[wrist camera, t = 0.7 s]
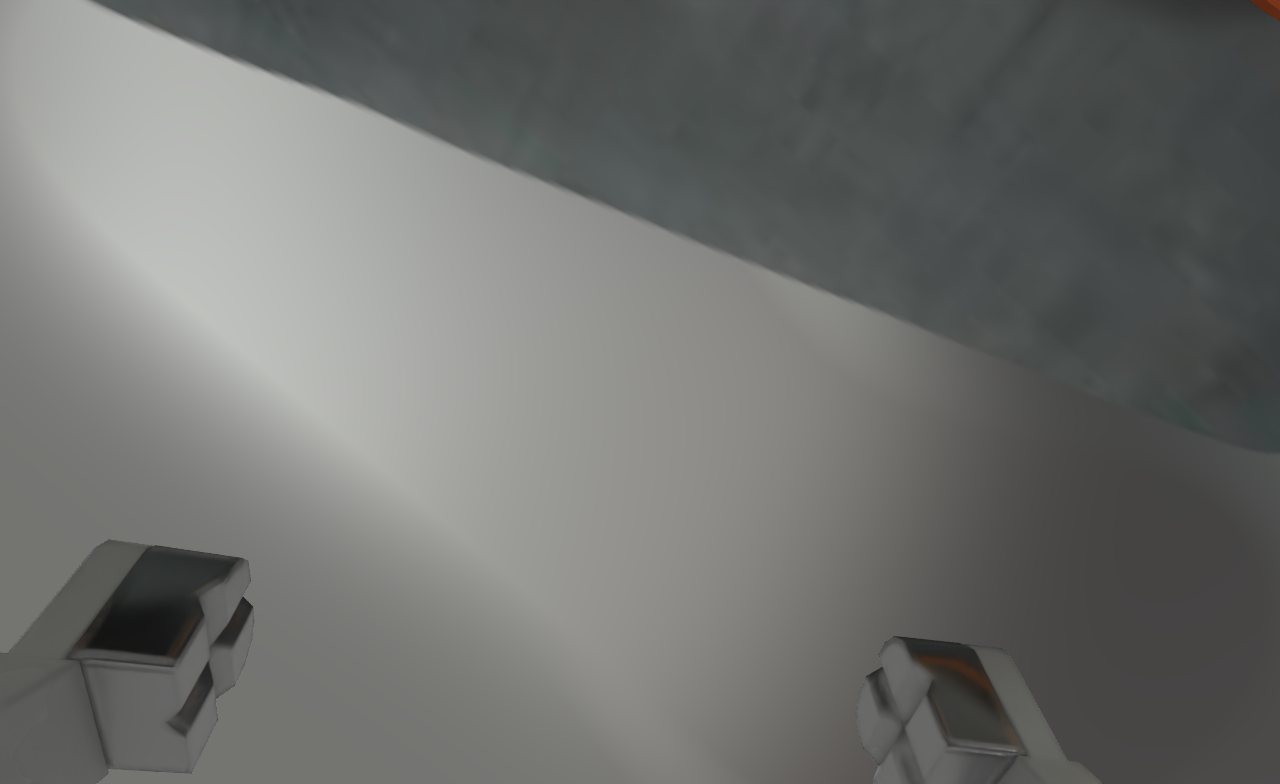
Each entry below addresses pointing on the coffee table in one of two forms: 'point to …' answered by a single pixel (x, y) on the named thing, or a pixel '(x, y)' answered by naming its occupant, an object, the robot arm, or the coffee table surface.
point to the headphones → (1269, 7)
